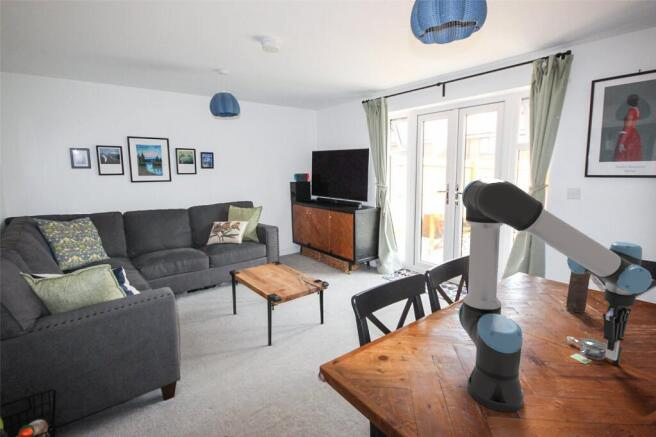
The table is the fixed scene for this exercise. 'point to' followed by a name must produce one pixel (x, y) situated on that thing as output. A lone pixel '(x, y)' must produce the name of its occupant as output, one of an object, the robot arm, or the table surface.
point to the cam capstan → (594, 349)
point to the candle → (577, 292)
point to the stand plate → (583, 358)
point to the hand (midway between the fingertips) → (610, 357)
